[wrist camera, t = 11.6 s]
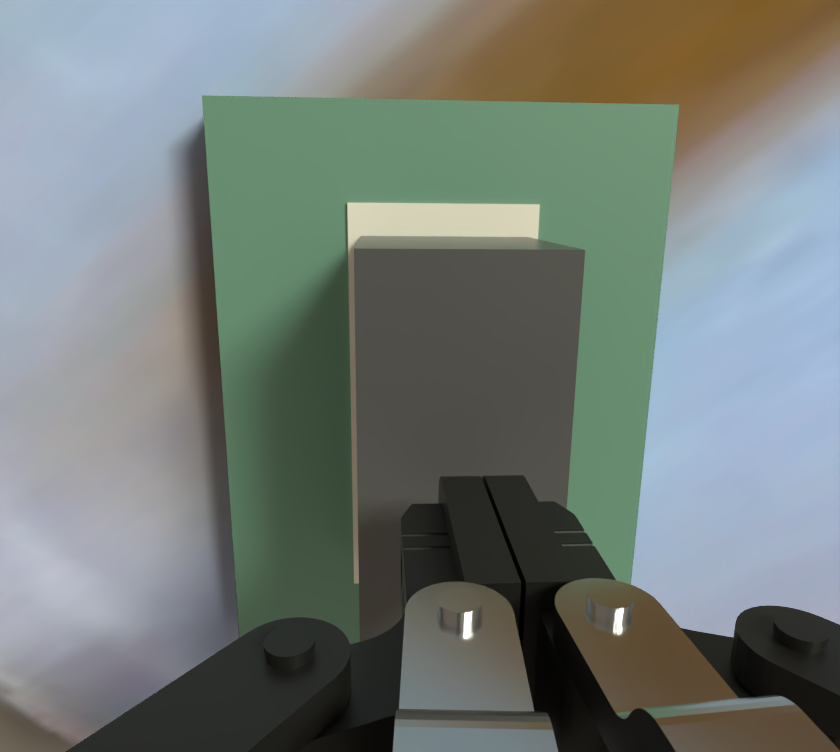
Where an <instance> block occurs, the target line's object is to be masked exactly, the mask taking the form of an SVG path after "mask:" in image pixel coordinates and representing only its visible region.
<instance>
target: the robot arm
mask: <svg viewBox="0 0 840 752" xmlns="http://www.w3.org/2000/svg"><path fill="white" fill-rule="evenodd" d="M401 610H402V618H401V619H400V621H399V622H398V623H397V624H396V625H395V626H393V627H392V628H391V629H389V630H388V631H386V632H384V633H383V634H381V635H378V636H376V637H374V638H371V639H368V640H364V641H361V642H357V643H353V644H350V643H349V641H348V638H347V637H346V635H345V634H344V633H343V632H342V631H341V630H340V629H339V628H338V627H336V626H334V625H333V624H331V623H328V622H326V621H323V620H319V619H315V618H306V617H293V618H284V619H279V620H275V621H272V622H268V623H265V624H263V625H261V626H258V627H256V628H255V629H253V630H251V631H249V632H248V633H246V634H245V635H243V636H242V637H240V638H239V639H237V640H236V641H234V642H233V643H231V644H230V645H228V646H226V647H225V648H223V649H222V650H220V651H219V652H217V653H216V654H214V655H213V656H211V657H210V658H208V659H207V660H205V661H204V662H202V663H201V664H199V665H197V666H196V667H194V668H193V669H191V670H190V671H188V672H187V673H185V674H184V675H182V676H181V677H179V678H178V679H176V680H175V681H173V682H172V683H170V684H169V685H167V686H165V687H164V688H162V689H161V690H159V691H158V692H156V693H155V694H153V695H152V696H150V697H149V698H147V699H146V700H144V701H143V702H141V703H140V704H138V705H136V706H135V707H133V708H132V709H130V710H129V711H127V712H126V713H124V714H123V715H121V716H120V717H118V718H117V719H115V720H114V721H112V722H111V723H109V724H108V725H106V726H104V727H103V728H101V729H100V730H98V731H97V732H95V733H94V734H92V735H91V736H89V737H88V738H86V739H85V740H83V741H82V742H80V743H79V744H77V745H75V746H74V747H72V748H71V749H69V750H68V751H66V752H840V625H839V624H836V623H834V622H831V621H829V620H827V619H824V618H822V617H819V616H817V615H814V614H811V613H808V612H805V611H801V610H798V609H793V608H788V607H781V606H758V607H753V608H750V609H747V610H745V611H743V612H742V613H741V614H740V615H739V616H738V617H737V620H736V624H735V631H734V638H732V637H726V636H721V635H715V634H709V633H703V632H697V631H692V630H687V629H682V628H680V627H679V626H678V625H677V624H676V622H675V621H674V620H673V619H672V618H671V616H670V615H669V614H668V613H667V612H666V610H665V609H664V608H663V607H662V606H661V604H660V603H659V602H658V601H657V600H656V599H655V598H654V597H652V596H651V595H650V594H648V593H647V592H645V591H643V590H641V589H639V588H637V587H635V586H633V585H630V584H627V583H624V582H620V581H617V580H616V579H615V577H614V576H613V574H612V572H611V571H610V569H609V568H608V566H607V565H606V563H605V561H604V560H603V558H602V557H601V555H600V554H599V552H598V550H597V549H596V547H595V546H593V543H592V541H591V539H590V538H589V536H588V535H587V533H585V532H584V528H583V527H582V525H581V524H580V522H579V520H578V519H577V517H576V516H575V514H573V513H572V512H570V511H569V510H567V509H566V508H564V507H563V506H561V505H560V504H558V503H556V502H555V501H542V502H538V500H537V498H536V496H535V494H534V493H533V491H532V489H531V487H530V485H529V483H528V481H527V480H526V478H525V476H524V475H498V476H483V477H482V478H481V476H441V477H440V479H439V492H438V503H435V504H411V506H410V507H409V508H408V509H407V511H406V512H405V513H404V514H403V516H402V517H401Z"/></svg>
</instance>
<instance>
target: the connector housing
mask: <svg viewBox="0 0 840 752" xmlns="http://www.w3.org/2000/svg"><path fill="white" fill-rule="evenodd" d="M584 262H585V250H584V249H579V248H575V247H570V246H566V245H562V244H557V243H553V242H548V241H544V240H539V239H535V238H531V237H464V236H360V238H359V240H358V242H357V244H356V245H355V247H354V291H355V358H356V424H357V490H358V557H359V623H360V642H361V641H364V640H368V639H371V638H374V637H376V636H378V635H381V634H383V633H384V632H386V631H388V630H389V629H391V628H392V627H393V626H395V625H396V624H397V623H398V622H399V621H400V619H401V618H402V610H401V517H402V516H403V514H404V513H405V512H406V511H407V509H408V508H409V507H410V506H411V504H435V503H438V492H439V479H440V477H441V476H481V478H482V477H483V476H498V475H524V476H525V478H526V480H527V481H528V483H529V485H530V487H531V489H532V491H533V493H534V494H535V496H536V498H537V500H538V502H542V501H555V502H556V503H558V504H560V505H561V506H563V507H564V508H566V509H567V498H568V484H569V470H570V457H571V443H572V429H573V415H574V401H575V387H576V373H577V359H578V345H579V331H580V317H581V304H582V290H583V276H584Z"/></svg>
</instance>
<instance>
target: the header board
mask: <svg viewBox="0 0 840 752" xmlns="http://www.w3.org/2000/svg"><path fill="white" fill-rule="evenodd" d="M202 101H203V115H204V130H205V145H206V159H207V174H208V188H209V203H210V218H211V232H212V247H213V261H214V276H215V290H216V305H217V320H218V334H219V349H220V363H221V378H222V393H223V407H224V422H225V436H226V451H227V466H228V480H229V495H230V509H231V524H232V538H233V553H234V568H235V582H236V597H237V611H238V626H239V638H240V637H242V636H243V635H245V634H246V633H248V632H249V631H251V630H253V629H255V628H256V627H258V626H261V625H263V624H265V623H268V622H272V621H275V620H279V619H284V618H293V617H306V618H315V619H319V620H323V621H326V622H328V623H331V624H333V625H334V626H336V627H338V628H339V629H340V630H341V631H342V632H343V633H344V634H345V635H346V637H347V638H348V641H349V643H350V644H353V643H357V642H360V623H359V557H358V490H357V424H356V358H355V291H354V247H355V245H356V244H357V242H358V240H359V238H360V236H464V237H531V238H535V239H539V240H544V241H548V242H553V243H557V244H562V245H566V246H570V247H575V248H579V249H584V250H585V262H584V276H583V290H582V304H581V317H580V331H579V345H578V359H577V373H576V387H575V401H574V415H573V429H572V443H571V457H570V470H569V484H568V498H567V510H569V511H570V512H572V513H573V514H575V516H576V517H577V519H578V520H579V522H580V524H581V525H582V527H583V528H584V532H585V533H587V535H588V536H589V538H590V539H591V541H592V543H593V546H595V547H596V549H597V550H598V552H599V554H600V555H601V557H602V558H603V560H604V561H605V563H606V565H607V566H608V568H609V569H610V571H611V572H612V574H613V576H614V577H615V579H616V580H617V581H620V582H624V583H627V584H630V585H631V576H632V567H633V557H634V547H635V537H636V527H637V517H638V507H639V497H640V487H641V478H642V468H643V458H644V448H645V438H646V428H647V418H648V408H649V399H650V389H651V379H652V369H653V359H654V349H655V339H656V329H657V320H658V310H659V300H660V290H661V280H662V270H663V260H664V250H665V240H666V231H667V221H668V211H669V201H670V191H671V181H672V171H673V161H674V152H675V142H676V132H677V122H678V112H679V105H661V104H610V103H558V102H506V101H455V100H403V99H351V98H300V97H248V96H202Z"/></svg>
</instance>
